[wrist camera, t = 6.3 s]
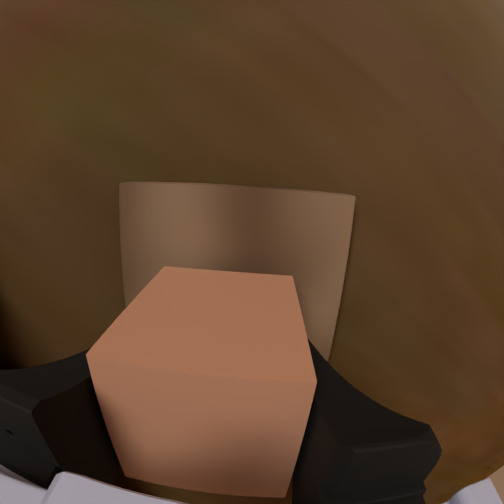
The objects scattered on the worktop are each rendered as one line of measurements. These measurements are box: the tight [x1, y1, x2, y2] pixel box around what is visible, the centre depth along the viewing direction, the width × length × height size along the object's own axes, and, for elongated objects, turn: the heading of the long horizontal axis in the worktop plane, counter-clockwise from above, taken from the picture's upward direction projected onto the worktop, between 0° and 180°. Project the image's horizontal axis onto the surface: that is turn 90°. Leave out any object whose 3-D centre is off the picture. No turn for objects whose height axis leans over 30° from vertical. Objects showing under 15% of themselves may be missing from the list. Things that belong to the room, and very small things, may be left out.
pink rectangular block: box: [86, 266, 317, 497], centre depth 10 cm, size 5×5×7 cm
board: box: [119, 182, 355, 362], centre depth 14 cm, size 10×10×1 cm
